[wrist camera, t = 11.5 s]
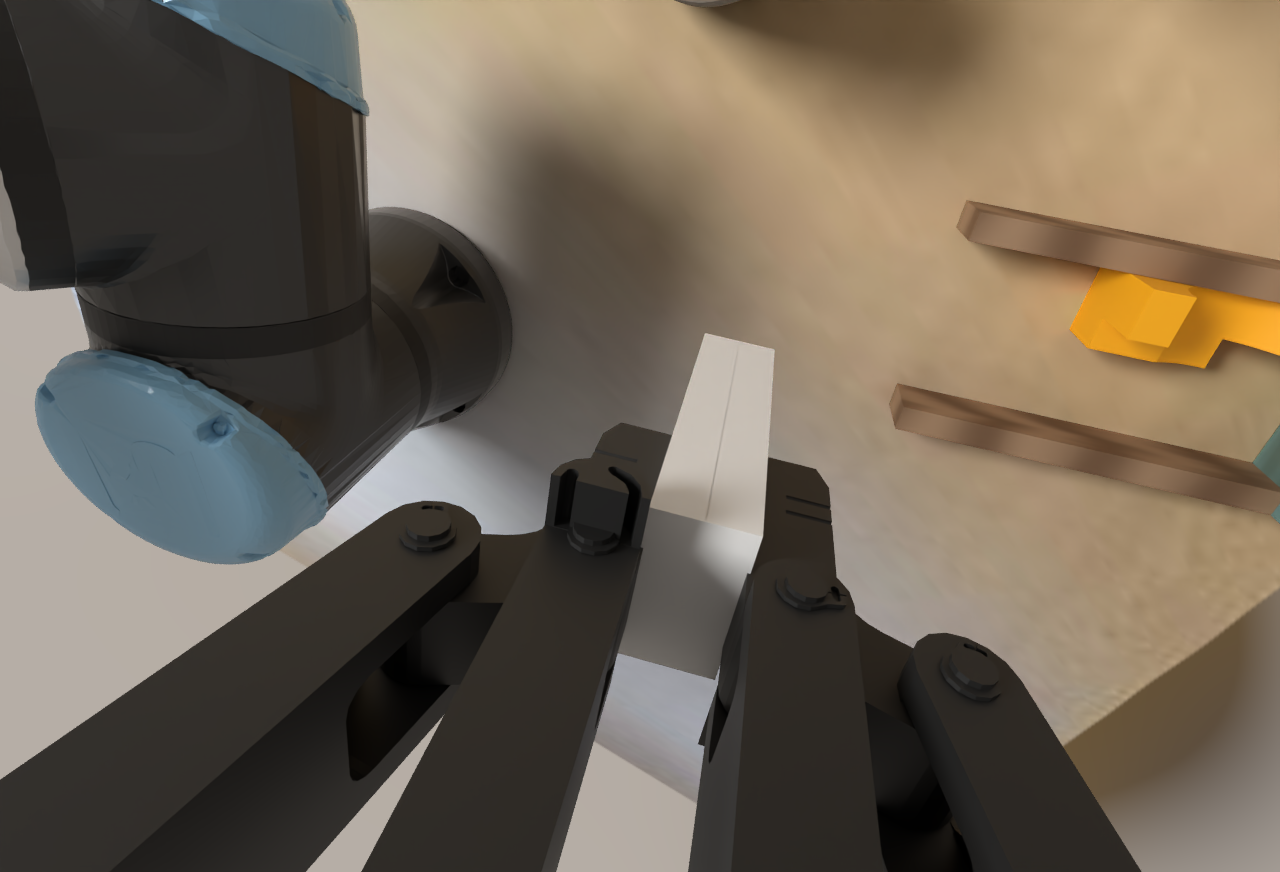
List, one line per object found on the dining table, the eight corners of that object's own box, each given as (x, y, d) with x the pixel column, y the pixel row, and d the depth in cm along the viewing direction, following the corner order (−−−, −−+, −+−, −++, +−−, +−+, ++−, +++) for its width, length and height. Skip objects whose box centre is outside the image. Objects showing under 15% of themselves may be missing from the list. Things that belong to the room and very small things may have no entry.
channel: (889, 404, 45) (899, 444, 40) (966, 200, 38) (989, 220, 33) (1272, 491, 42) (1332, 545, 37) (1424, 288, 36) (1520, 323, 31)
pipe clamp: (1068, 328, 41) (1109, 370, 35) (1104, 256, 38) (1154, 289, 33) (1285, 373, 39) (1364, 425, 34) (1335, 301, 37) (1427, 343, 32)
